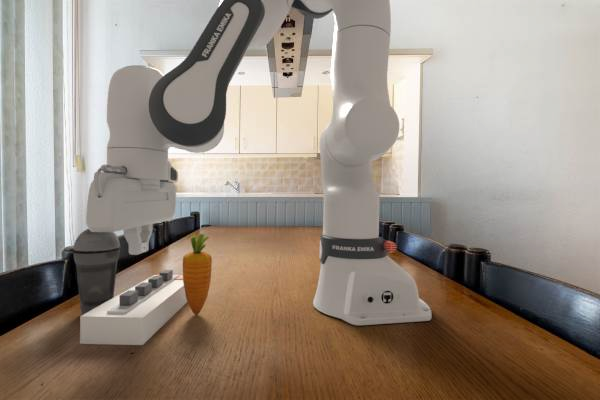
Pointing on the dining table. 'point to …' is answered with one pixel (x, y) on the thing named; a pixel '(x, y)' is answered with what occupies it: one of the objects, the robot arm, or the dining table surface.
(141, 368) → the dining table surface
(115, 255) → the beverage cup
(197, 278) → the carrot
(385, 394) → the dining table surface
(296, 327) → the dining table surface
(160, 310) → the breaker panel
